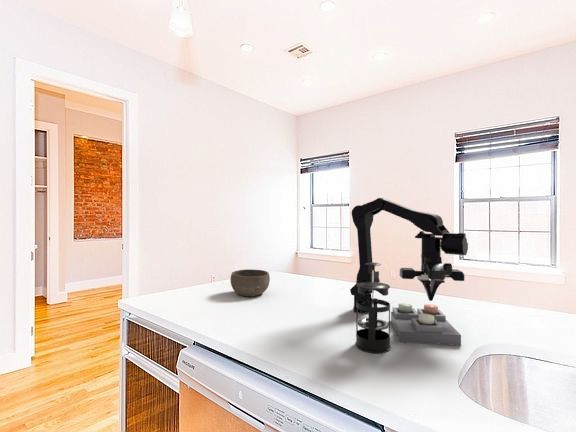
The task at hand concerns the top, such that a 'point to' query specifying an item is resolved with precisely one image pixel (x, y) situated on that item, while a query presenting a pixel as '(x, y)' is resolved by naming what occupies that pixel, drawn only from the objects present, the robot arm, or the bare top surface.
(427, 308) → the terracotta button
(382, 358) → the top surface
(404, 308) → the sage button
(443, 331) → the console
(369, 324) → the french press
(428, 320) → the cream button
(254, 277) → the bowl
